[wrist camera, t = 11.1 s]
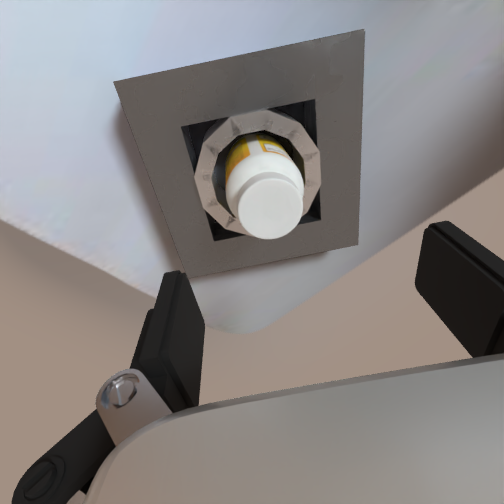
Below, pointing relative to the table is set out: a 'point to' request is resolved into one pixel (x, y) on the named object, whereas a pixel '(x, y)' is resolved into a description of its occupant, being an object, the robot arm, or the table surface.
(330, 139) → the bore block
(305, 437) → the robot arm
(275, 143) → the supplement bottle
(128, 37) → the table surface
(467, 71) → the table surface
